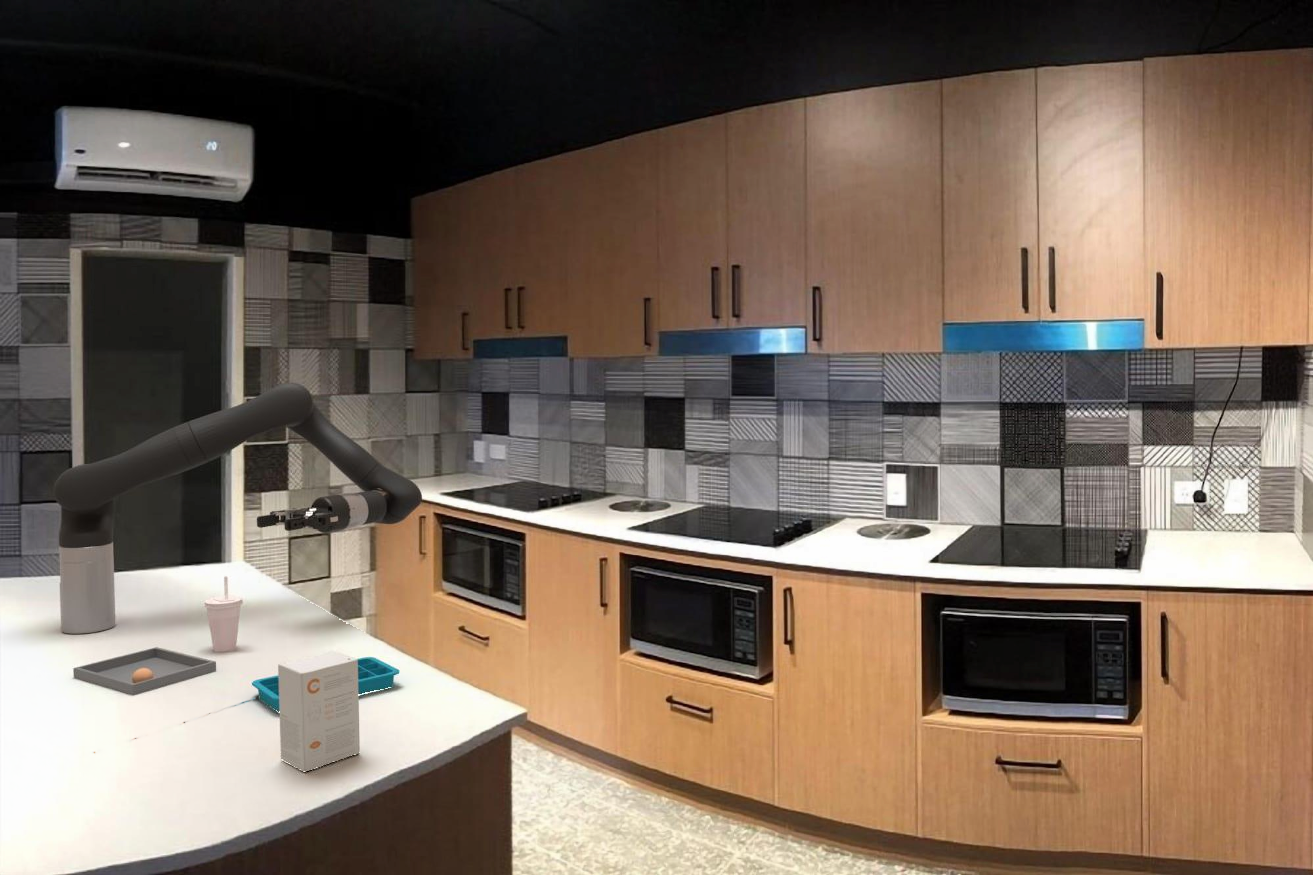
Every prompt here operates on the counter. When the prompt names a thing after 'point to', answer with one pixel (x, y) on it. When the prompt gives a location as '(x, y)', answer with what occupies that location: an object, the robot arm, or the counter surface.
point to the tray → (160, 661)
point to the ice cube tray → (369, 679)
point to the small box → (318, 709)
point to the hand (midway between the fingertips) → (271, 523)
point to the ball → (142, 675)
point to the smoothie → (224, 620)
